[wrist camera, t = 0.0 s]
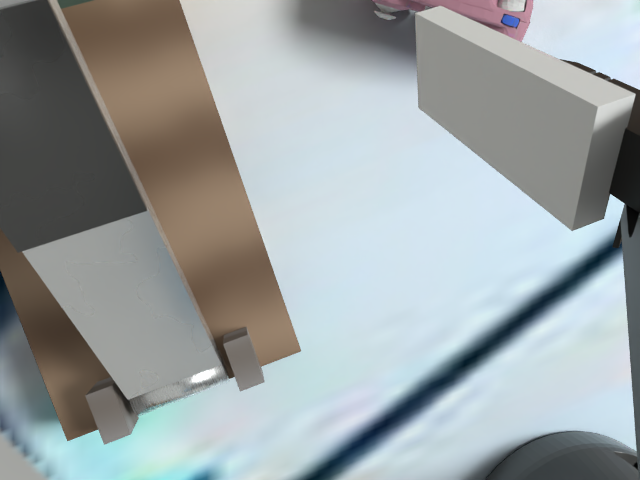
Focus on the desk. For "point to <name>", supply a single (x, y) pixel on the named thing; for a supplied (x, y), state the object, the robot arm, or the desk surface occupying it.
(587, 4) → the desk surface
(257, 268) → the base
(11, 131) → the silver metal piece
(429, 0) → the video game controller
